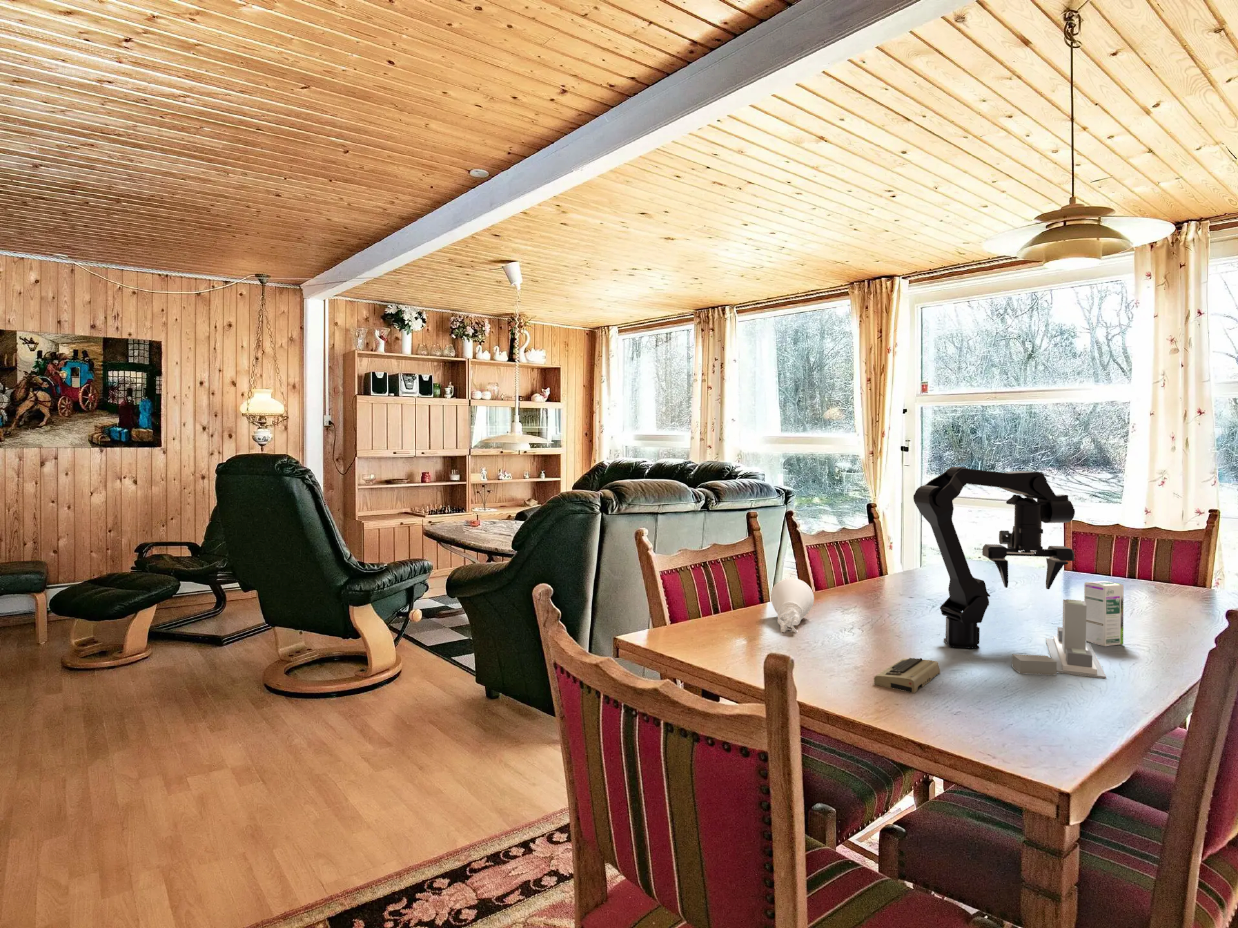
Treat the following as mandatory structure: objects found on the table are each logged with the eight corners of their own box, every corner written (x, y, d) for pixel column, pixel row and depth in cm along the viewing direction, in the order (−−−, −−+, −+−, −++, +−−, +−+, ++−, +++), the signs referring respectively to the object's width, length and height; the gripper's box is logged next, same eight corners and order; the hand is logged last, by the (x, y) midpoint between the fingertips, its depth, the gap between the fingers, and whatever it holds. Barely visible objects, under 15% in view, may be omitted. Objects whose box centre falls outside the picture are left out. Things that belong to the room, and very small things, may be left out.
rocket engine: (791, 597, 183) (794, 569, 200) (756, 623, 187) (762, 593, 204) (822, 631, 183) (823, 601, 200) (786, 656, 187) (789, 624, 204)
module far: (1058, 641, 173) (1059, 629, 173) (1057, 637, 177) (1057, 626, 176) (1080, 643, 171) (1081, 632, 171) (1079, 639, 175) (1079, 628, 175)
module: (1064, 653, 163) (1065, 602, 163) (1062, 647, 168) (1063, 598, 168) (1085, 655, 162) (1086, 604, 161) (1082, 649, 166) (1083, 600, 166)
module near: (1067, 664, 155) (1067, 651, 155) (1065, 659, 159) (1065, 647, 159) (1092, 667, 153) (1092, 654, 153) (1089, 662, 157) (1090, 649, 157)
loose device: (1020, 674, 154) (1020, 660, 154) (1012, 668, 158) (1012, 654, 158) (1056, 676, 153) (1056, 661, 153) (1046, 669, 157) (1047, 655, 157)
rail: (1055, 672, 154) (1055, 665, 154) (1045, 640, 179) (1046, 634, 179) (1106, 678, 150) (1106, 671, 150) (1089, 644, 175) (1089, 638, 175)
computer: (900, 667, 159) (901, 652, 159) (940, 675, 154) (940, 659, 154) (873, 686, 147) (873, 670, 147) (914, 695, 142) (915, 678, 142)
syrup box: (1104, 646, 174) (1106, 585, 173) (1082, 640, 179) (1084, 580, 179) (1123, 645, 175) (1125, 584, 175) (1101, 638, 181) (1102, 579, 180)
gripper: (1057, 520, 183) (1056, 583, 183) (976, 519, 187) (975, 580, 187) (1076, 525, 172) (1074, 592, 173) (989, 524, 176) (988, 589, 176)
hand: (1026, 588), depth 177 cm, fingers open, 9 cm apart
